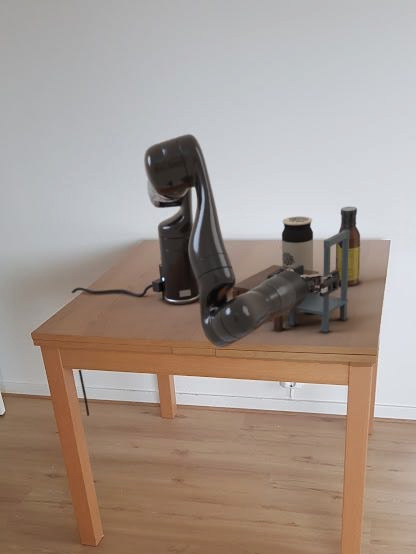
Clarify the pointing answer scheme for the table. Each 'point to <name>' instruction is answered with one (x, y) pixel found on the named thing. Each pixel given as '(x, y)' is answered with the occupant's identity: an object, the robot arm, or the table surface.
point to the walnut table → (257, 280)
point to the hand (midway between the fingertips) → (319, 271)
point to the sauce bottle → (354, 246)
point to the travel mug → (297, 243)
